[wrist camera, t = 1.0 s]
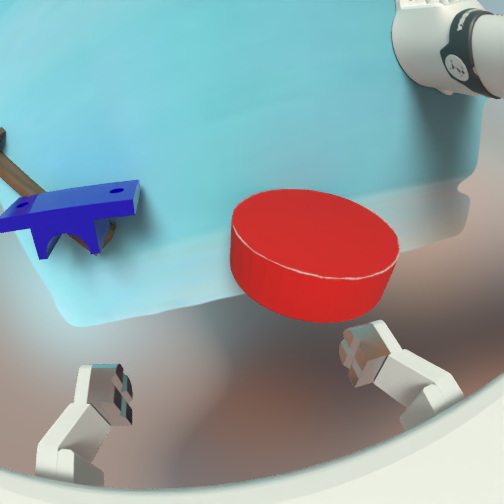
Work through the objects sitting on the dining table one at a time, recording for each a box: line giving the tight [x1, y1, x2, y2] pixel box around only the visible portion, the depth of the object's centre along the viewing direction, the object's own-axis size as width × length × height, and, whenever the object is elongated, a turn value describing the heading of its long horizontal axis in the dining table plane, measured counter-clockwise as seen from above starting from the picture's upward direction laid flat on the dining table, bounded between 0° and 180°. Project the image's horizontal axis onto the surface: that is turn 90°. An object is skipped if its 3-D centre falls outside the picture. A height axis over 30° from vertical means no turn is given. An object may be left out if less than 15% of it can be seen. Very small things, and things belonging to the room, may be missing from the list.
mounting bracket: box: [0, 180, 140, 260], centre depth 32 cm, size 18×7×6 cm
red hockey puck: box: [230, 189, 400, 323], centre depth 36 cm, size 20×6×20 cm, turn 85°
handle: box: [0, 127, 116, 256], centre depth 33 cm, size 4×24×4 cm, turn 39°
